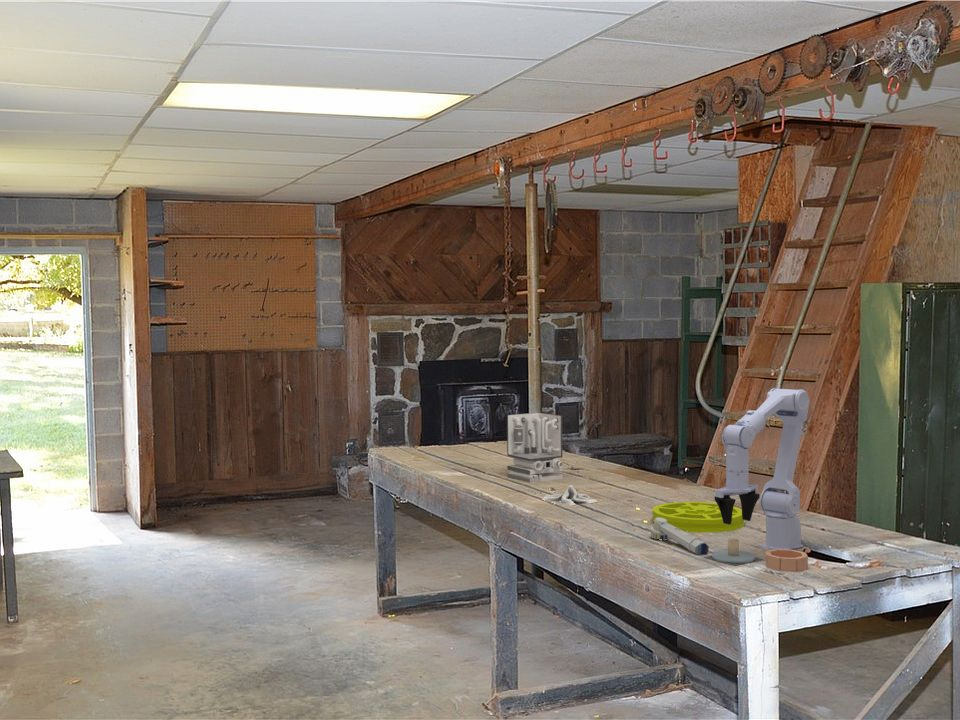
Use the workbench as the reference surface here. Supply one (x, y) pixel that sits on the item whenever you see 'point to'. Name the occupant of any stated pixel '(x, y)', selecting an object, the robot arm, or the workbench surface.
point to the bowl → (786, 560)
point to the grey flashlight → (677, 536)
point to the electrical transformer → (534, 446)
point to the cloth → (569, 497)
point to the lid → (733, 554)
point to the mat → (733, 564)
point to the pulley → (697, 516)
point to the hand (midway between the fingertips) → (736, 522)
